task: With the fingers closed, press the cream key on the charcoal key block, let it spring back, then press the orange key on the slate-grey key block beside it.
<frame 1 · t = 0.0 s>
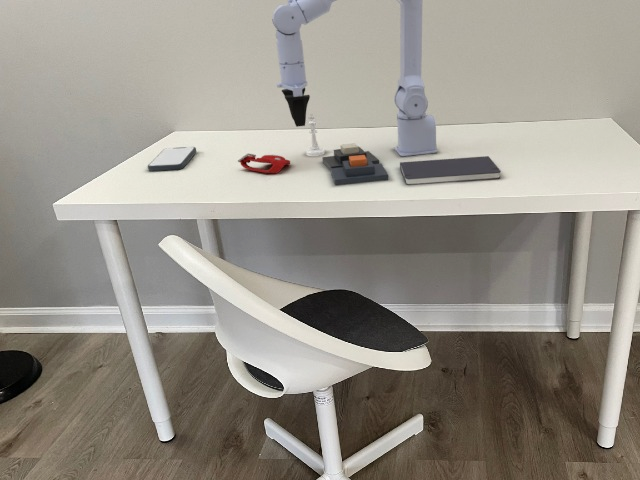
hand: (298, 122, 150), 10 cm above the table, tool pointing down, fingers open, 7 cm apart
chess piece: (315, 154, 162), on the table
cream key: (349, 149, 151), point 4 cm above the table, slide at 0.1 cm
charcoal keypad: (350, 164, 152), on the table
slate keypad: (359, 177, 143), on the table
orange key: (358, 161, 141), point 4 cm above the table, slide at 0.1 cm
red curved piece: (267, 169, 152), on the table
phone case: (173, 162, 161), on the table
notebook: (449, 174, 143), on the table
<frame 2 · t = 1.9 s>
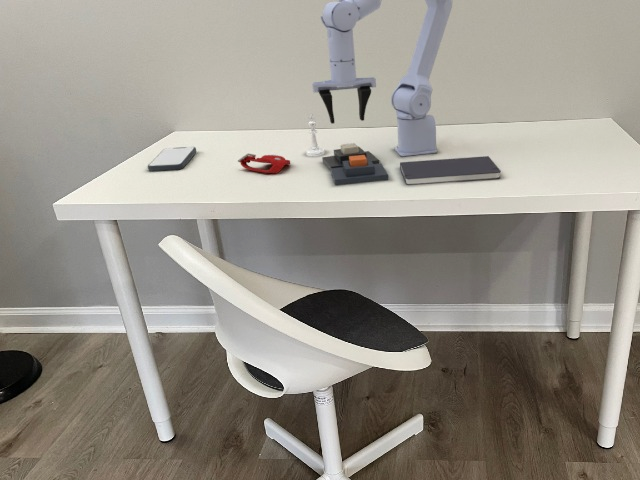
hand: (347, 121, 147), 10 cm above the table, tool pointing down, fingers open, 6 cm apart
nothing on the table moved.
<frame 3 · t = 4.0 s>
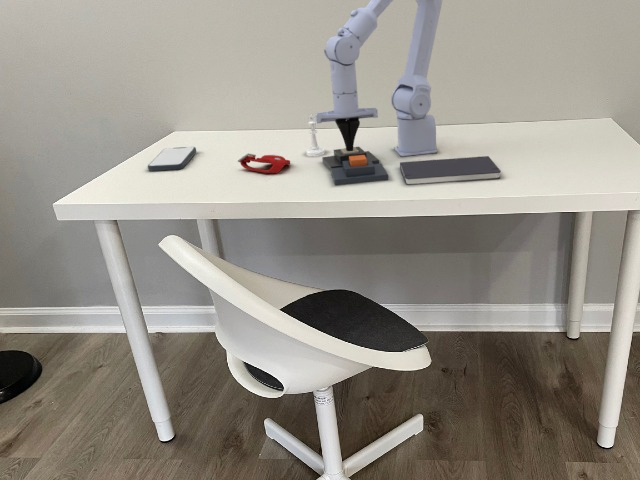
hand: (349, 150, 151), 3 cm above the table, tool pointing down, fingers closed, pressing on cream key
cream key: (349, 153, 151), point 3 cm above the table, slide at -0.9 cm, touching gripper
everything else where it was.
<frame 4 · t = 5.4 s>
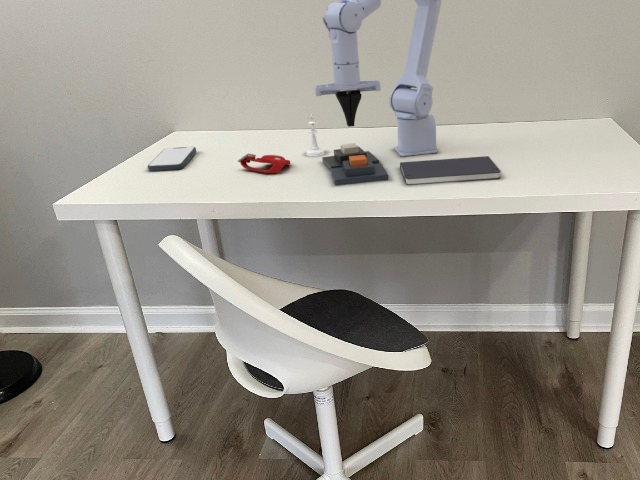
hand: (350, 125, 143), 10 cm above the table, tool pointing down, fingers closed
cream key: (349, 149, 151), point 4 cm above the table, slide at 0.1 cm
everything else where it was.
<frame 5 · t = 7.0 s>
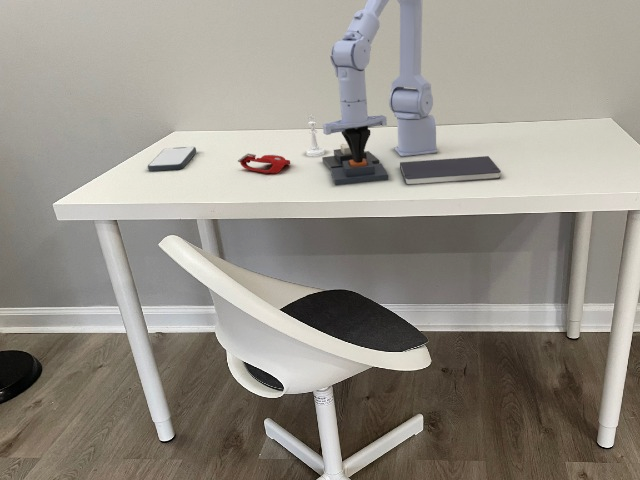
hand: (357, 161, 141), 4 cm above the table, tool pointing down, fingers closed, pressing on orange key
orange key: (358, 165, 142), point 3 cm above the table, slide at -0.7 cm, touching gripper
everything else where it was.
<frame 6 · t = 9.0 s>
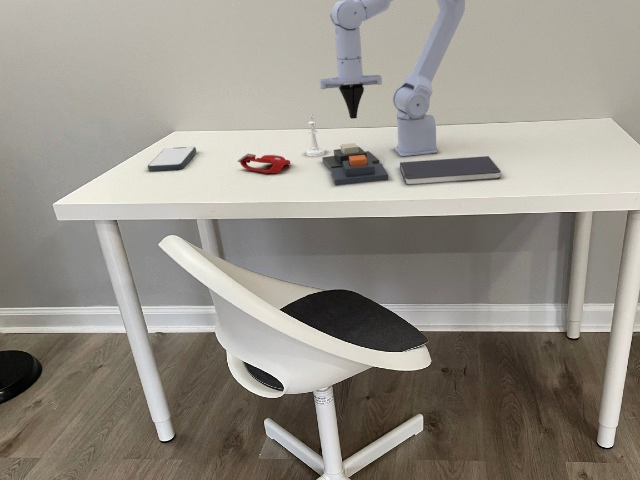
hand: (353, 117, 151), 10 cm above the table, tool pointing down, fingers closed
orange key: (358, 161, 141), point 4 cm above the table, slide at 0.1 cm
everything else where it was.
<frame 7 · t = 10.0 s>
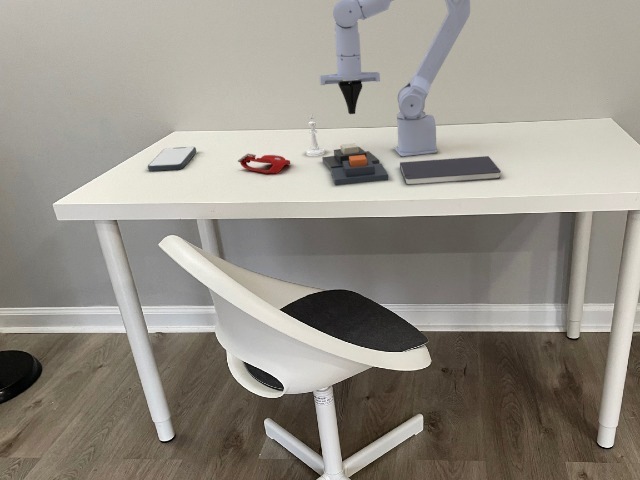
hand: (351, 113, 155), 10 cm above the table, tool pointing down, fingers closed
nothing on the table moved.
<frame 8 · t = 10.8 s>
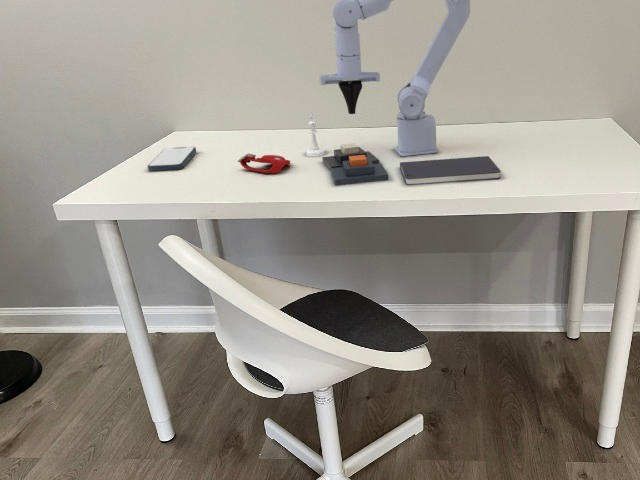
hand: (351, 113, 155), 10 cm above the table, tool pointing down, fingers closed
nothing on the table moved.
at the end: cream key pushed in 1.2 cm at the most during the clip, back to where it started at the end; orange key pushed in 1.2 cm at the most during the clip, back to where it started at the end; orange key slide at 0.1 cm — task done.
